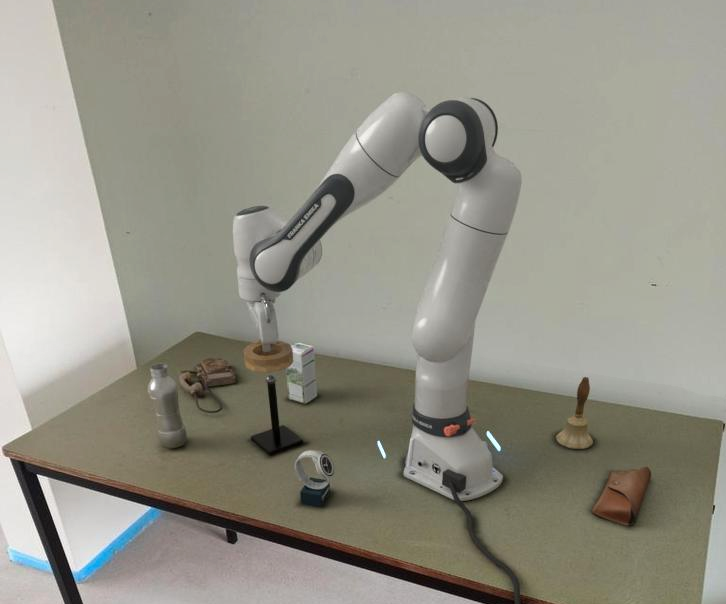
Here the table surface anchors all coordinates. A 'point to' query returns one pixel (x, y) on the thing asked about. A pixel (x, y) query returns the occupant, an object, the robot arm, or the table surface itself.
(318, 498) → the watch
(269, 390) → the stand
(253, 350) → the ring
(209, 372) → the telephone
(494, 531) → the table surface
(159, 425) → the plastic bottle
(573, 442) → the hand bell
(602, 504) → the sunglasses case
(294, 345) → the syrup box
